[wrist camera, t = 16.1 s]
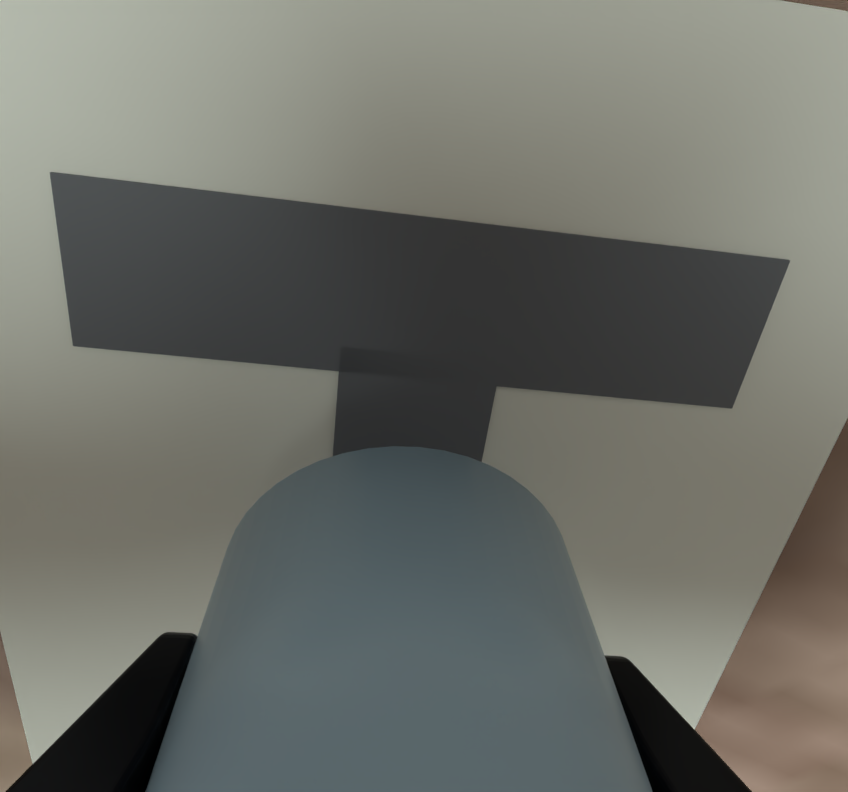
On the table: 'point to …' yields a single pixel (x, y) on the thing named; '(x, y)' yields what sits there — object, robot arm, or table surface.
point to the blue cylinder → (397, 643)
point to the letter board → (413, 296)
